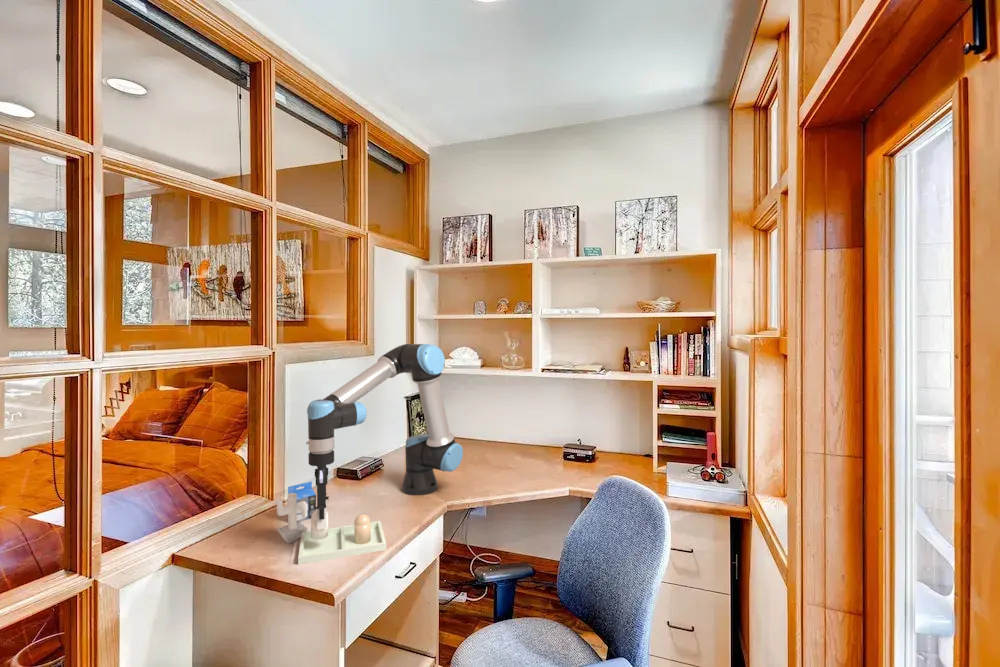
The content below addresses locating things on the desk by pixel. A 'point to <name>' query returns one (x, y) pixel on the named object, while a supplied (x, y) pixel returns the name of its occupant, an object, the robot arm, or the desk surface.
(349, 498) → the desk surface
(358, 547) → the tray
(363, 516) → the tan domed cylinder
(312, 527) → the cream domed cylinder
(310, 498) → the label tape cartridge
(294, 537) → the figurine
